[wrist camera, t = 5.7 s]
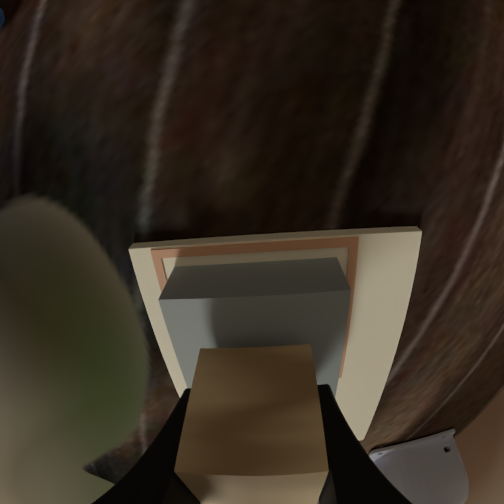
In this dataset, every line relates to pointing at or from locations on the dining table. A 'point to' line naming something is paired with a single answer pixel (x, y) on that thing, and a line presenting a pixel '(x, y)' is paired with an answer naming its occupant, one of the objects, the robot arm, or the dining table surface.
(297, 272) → the slate slab
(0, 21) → the blue lumpy rounded block
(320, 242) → the white flat sheet
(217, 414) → the maple block
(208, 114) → the dining table surface
